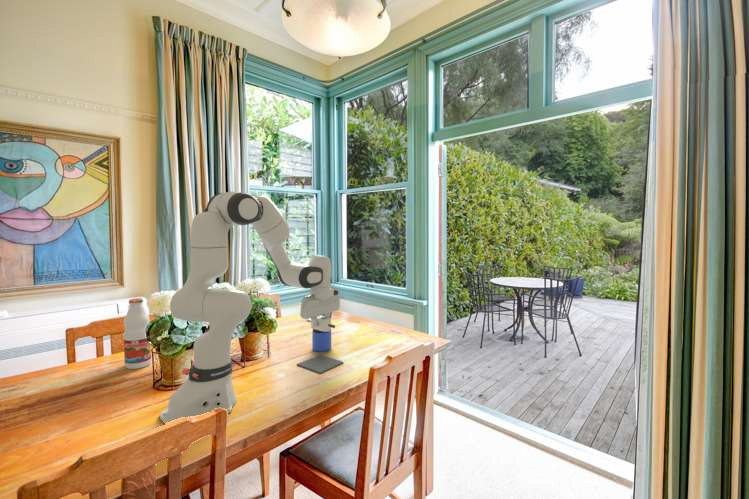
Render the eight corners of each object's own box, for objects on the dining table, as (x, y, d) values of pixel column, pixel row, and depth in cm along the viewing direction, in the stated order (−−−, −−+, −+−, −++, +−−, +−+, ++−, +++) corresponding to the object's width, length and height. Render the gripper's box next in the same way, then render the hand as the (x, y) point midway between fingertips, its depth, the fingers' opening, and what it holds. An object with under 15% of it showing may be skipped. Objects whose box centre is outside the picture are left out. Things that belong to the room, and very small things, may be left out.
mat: (320, 373, 145) (320, 372, 145) (296, 365, 153) (296, 363, 153) (343, 363, 156) (343, 361, 156) (320, 355, 165) (320, 354, 165)
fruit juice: (154, 359, 157) (152, 296, 155) (147, 368, 148) (145, 301, 146) (129, 361, 154) (126, 297, 152) (121, 370, 145) (118, 302, 143)
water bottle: (333, 345, 178) (333, 295, 176) (329, 352, 169) (329, 300, 167) (314, 344, 179) (315, 295, 177) (309, 351, 170) (309, 299, 168)
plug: (337, 331, 150) (337, 319, 150) (330, 333, 147) (331, 321, 147) (311, 324, 160) (311, 313, 159) (305, 326, 156) (305, 315, 156)
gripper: (307, 298, 142) (307, 332, 143) (342, 290, 158) (342, 320, 160) (296, 295, 146) (296, 329, 147) (331, 288, 162) (331, 318, 163)
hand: (320, 324), depth 153 cm, fingers closed on plug, 4 cm apart
